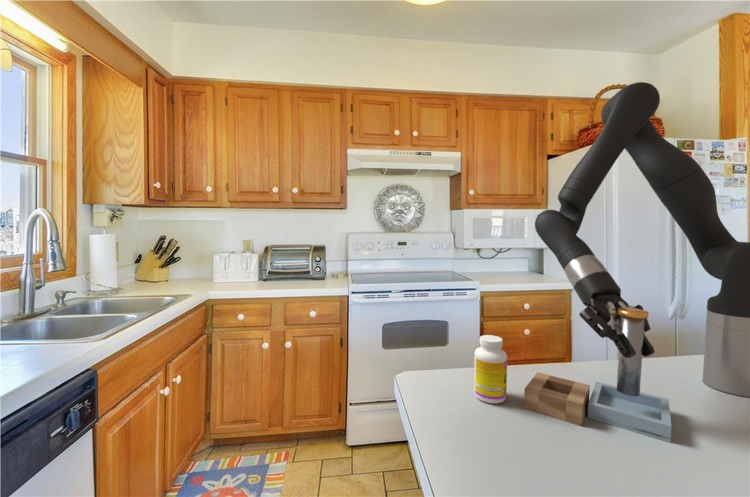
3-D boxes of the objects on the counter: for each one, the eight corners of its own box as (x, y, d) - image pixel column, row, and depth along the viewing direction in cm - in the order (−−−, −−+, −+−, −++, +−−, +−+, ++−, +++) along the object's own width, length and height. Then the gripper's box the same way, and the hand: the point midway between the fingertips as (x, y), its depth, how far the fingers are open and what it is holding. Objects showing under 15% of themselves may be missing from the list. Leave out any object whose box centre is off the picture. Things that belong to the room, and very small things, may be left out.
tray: (595, 393, 74) (596, 381, 74) (667, 412, 67) (668, 398, 66) (587, 417, 65) (588, 403, 65) (670, 442, 57) (671, 426, 57)
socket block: (536, 389, 76) (537, 372, 76) (589, 404, 70) (589, 385, 70) (524, 407, 68) (524, 388, 68) (581, 426, 62) (582, 404, 62)
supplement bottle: (508, 406, 69) (510, 344, 68) (475, 403, 70) (476, 342, 69) (503, 391, 75) (504, 334, 75) (472, 388, 77) (473, 332, 76)
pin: (614, 383, 69) (618, 306, 68) (643, 391, 66) (648, 310, 65) (612, 392, 65) (617, 310, 64) (642, 400, 62) (648, 314, 61)
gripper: (572, 270, 70) (622, 349, 59) (629, 269, 73) (687, 344, 62) (553, 291, 76) (595, 366, 65) (607, 289, 78) (656, 361, 67)
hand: (640, 355), depth 63 cm, fingers closed on pin, 3 cm apart
